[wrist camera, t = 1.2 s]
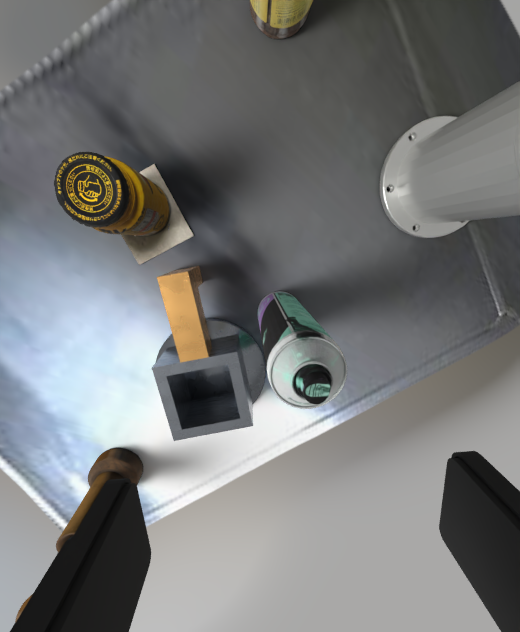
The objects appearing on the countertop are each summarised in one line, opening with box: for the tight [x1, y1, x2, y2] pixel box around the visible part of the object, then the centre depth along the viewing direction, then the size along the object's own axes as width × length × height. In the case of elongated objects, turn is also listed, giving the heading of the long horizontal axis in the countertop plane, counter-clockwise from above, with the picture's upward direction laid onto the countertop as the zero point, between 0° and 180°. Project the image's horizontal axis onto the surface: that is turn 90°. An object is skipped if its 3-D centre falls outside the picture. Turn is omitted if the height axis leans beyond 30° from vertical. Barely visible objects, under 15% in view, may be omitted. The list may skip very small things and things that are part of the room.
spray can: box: [258, 291, 347, 409], centre depth 27 cm, size 6×6×20 cm
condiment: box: [54, 152, 194, 265], centre depth 27 cm, size 7×8×12 cm
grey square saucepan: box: [152, 266, 265, 441], centre depth 34 cm, size 14×20×7 cm
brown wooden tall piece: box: [15, 448, 143, 623], centre depth 32 cm, size 7×6×18 cm
